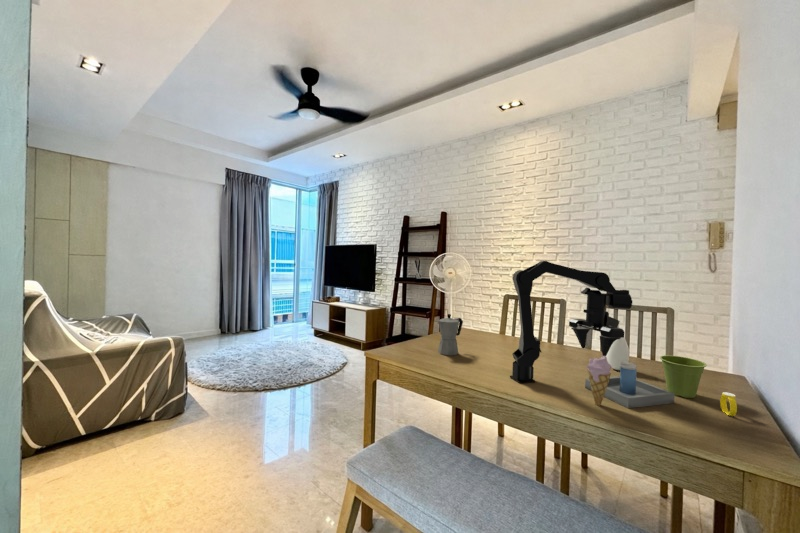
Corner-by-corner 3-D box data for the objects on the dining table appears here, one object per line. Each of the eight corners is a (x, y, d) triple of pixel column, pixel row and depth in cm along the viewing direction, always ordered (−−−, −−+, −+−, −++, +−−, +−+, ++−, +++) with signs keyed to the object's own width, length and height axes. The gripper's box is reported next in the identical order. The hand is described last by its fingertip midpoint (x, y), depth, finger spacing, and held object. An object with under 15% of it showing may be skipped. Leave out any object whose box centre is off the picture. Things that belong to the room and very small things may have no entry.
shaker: (628, 395, 105) (629, 366, 105) (616, 389, 109) (617, 362, 109) (639, 394, 106) (640, 365, 106) (626, 388, 111) (627, 361, 110)
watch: (739, 420, 92) (741, 399, 92) (726, 418, 94) (728, 398, 93) (728, 410, 98) (730, 390, 97) (716, 408, 99) (717, 389, 99)
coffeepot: (444, 357, 145) (445, 316, 145) (430, 352, 153) (431, 313, 152) (468, 352, 154) (470, 314, 154) (454, 347, 162) (455, 311, 161)
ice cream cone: (609, 411, 95) (611, 360, 95) (584, 406, 99) (586, 356, 98) (609, 403, 101) (611, 354, 101) (586, 398, 104) (587, 351, 104)
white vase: (628, 368, 135) (629, 324, 135) (629, 374, 129) (630, 328, 128) (605, 365, 140) (607, 322, 139) (605, 370, 133) (607, 325, 133)
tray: (627, 408, 98) (628, 398, 98) (585, 387, 113) (585, 379, 113) (674, 403, 102) (674, 393, 102) (626, 384, 118) (627, 375, 118)
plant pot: (650, 390, 113) (651, 357, 113) (671, 385, 117) (672, 354, 117) (692, 404, 102) (694, 367, 102) (713, 398, 107) (714, 363, 106)
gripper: (639, 312, 109) (636, 359, 109) (593, 304, 127) (591, 344, 127) (611, 312, 106) (608, 360, 106) (569, 303, 124) (566, 345, 125)
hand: (593, 352), depth 116 cm, fingers open, 9 cm apart
